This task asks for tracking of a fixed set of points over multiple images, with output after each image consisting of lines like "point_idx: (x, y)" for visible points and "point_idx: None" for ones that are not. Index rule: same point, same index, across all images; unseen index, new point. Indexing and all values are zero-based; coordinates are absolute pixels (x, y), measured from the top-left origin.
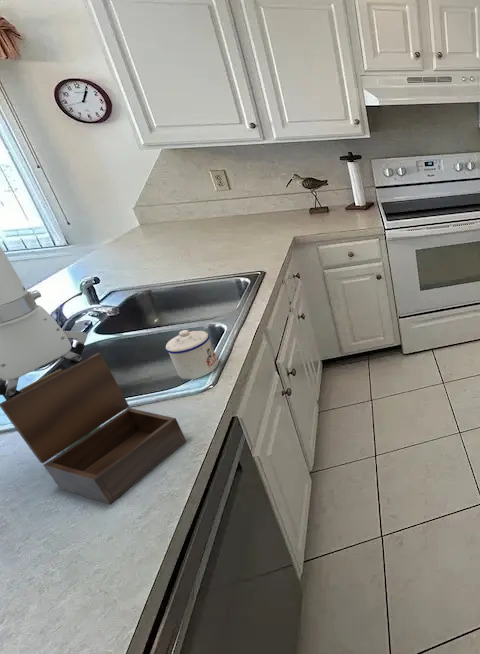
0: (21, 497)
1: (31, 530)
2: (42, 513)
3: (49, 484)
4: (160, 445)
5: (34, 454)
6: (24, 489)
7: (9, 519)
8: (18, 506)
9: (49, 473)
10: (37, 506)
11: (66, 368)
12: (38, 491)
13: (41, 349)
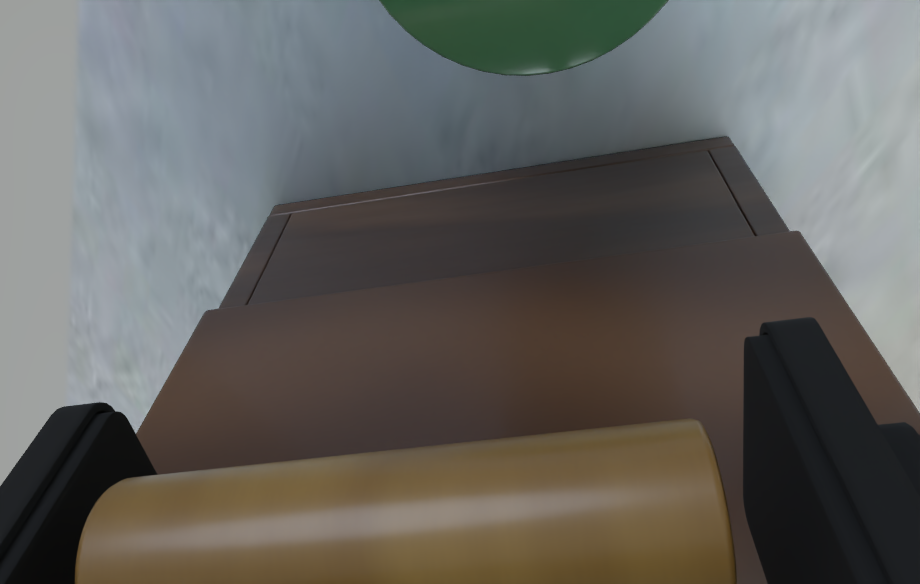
0: (131, 70)
1: (140, 341)
2: (185, 288)
3: (248, 108)
4: None
5: (178, 361)
6: (149, 10)
7: (76, 188)
8: (113, 132)
9: (240, 273)
10: (178, 222)
11: (815, 518)
12: (199, 110)
13: None
